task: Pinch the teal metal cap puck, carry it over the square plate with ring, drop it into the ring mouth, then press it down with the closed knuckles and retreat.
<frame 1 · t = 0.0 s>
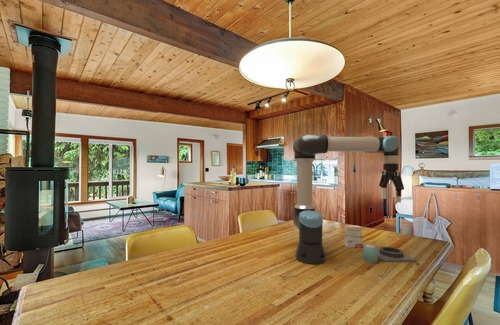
hand: (390, 200, 139), 28 cm above the table, fingers open, 13 cm apart
ink box: (352, 246, 145), on the table
square plate with ring: (391, 255, 130), on the table
cap: (370, 260, 124), on the table
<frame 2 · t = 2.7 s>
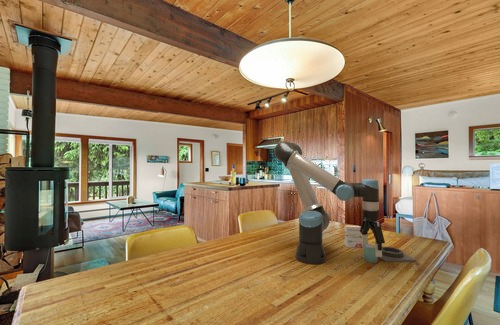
hand: (371, 251, 124), 4 cm above the table, fingers open, 13 cm apart
nothing on the table moved.
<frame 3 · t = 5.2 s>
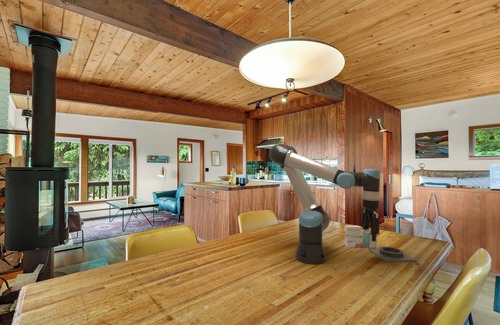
hand: (369, 244, 124), 8 cm above the table, fingers closed on cap, 6 cm apart
cap: (369, 246, 124), point 7 cm above the table, touching gripper
everything else where it was.
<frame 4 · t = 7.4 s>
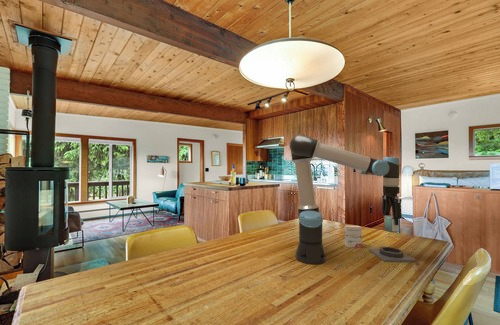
hand: (391, 229, 130), 14 cm above the table, fingers closed on cap, 6 cm apart
cap: (391, 230, 130), point 13 cm above the table, touching gripper
everything else where it was.
when the fingers open (5 cm above the table, at t = 9.7 s): cap drops 3 cm, resting on square plate with ring.
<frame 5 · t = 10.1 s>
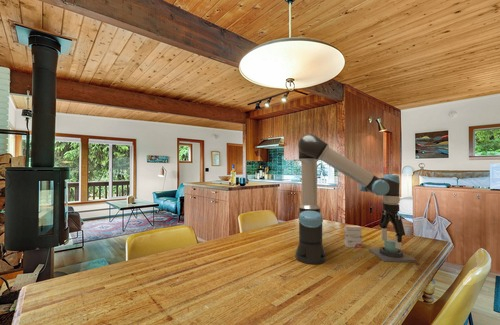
hand: (391, 244, 130), 6 cm above the table, fingers open, 12 cm apart
cap: (391, 253, 130), point 1 cm above the table, touching square plate with ring
everything else where it was.
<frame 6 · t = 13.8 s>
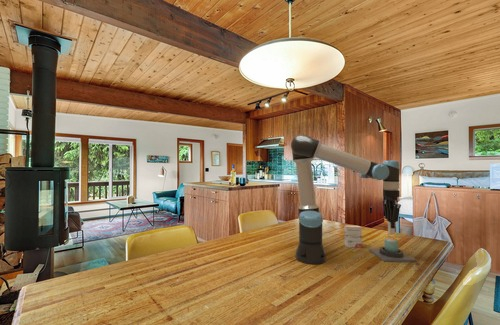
hand: (391, 233, 130), 12 cm above the table, fingers closed
nothing on the table moved.
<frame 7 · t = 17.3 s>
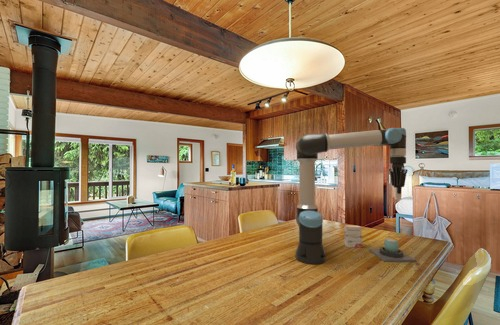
hand: (397, 199, 134), 29 cm above the table, fingers closed
nothing on the table moved.
at the end: cap 0.1 cm off-centre on the square plate with ring, point 1.0 cm above the square plate with ring's base; cap tilted 1°; the gripper is holding nothing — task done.
